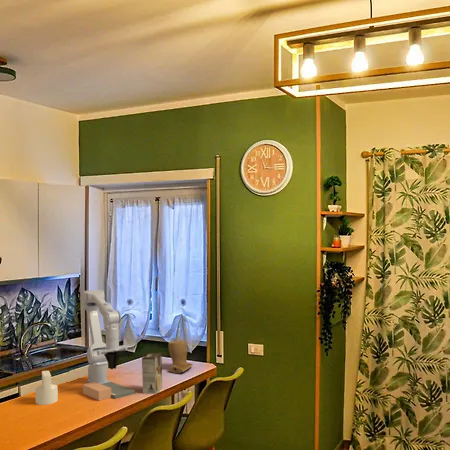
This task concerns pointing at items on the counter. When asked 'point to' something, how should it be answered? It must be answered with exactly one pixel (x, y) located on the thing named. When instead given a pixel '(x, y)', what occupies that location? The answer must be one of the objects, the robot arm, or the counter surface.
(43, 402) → the base with upright slab
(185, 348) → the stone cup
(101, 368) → the robot arm
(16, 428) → the counter surface
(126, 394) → the board
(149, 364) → the coffee box
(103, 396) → the tan rectangular block
